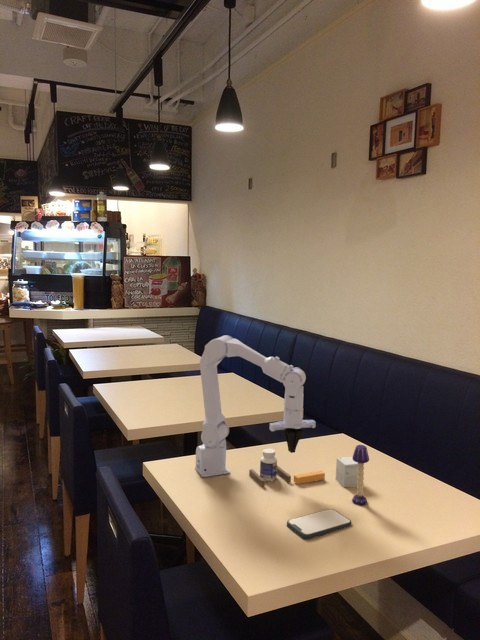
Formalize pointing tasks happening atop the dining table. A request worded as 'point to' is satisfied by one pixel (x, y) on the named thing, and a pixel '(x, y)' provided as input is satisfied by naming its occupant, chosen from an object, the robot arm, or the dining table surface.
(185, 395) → the dining table surface
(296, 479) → the orange rectangular block
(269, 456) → the pill bottle
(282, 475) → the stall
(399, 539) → the dining table surface
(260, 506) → the dining table surface
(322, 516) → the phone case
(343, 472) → the product box
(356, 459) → the toy lamp
